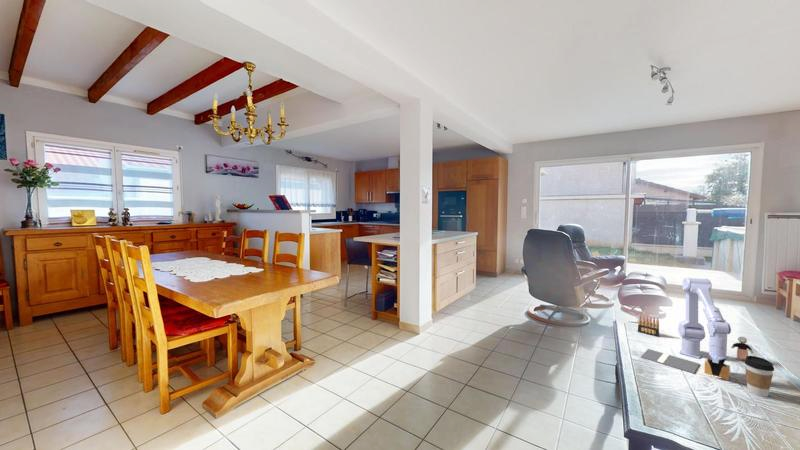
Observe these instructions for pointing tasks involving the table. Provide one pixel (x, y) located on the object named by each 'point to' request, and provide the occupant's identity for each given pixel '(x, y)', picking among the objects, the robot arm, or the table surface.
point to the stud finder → (723, 374)
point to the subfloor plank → (671, 361)
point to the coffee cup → (758, 375)
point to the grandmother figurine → (742, 348)
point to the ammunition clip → (648, 326)
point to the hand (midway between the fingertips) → (716, 372)
